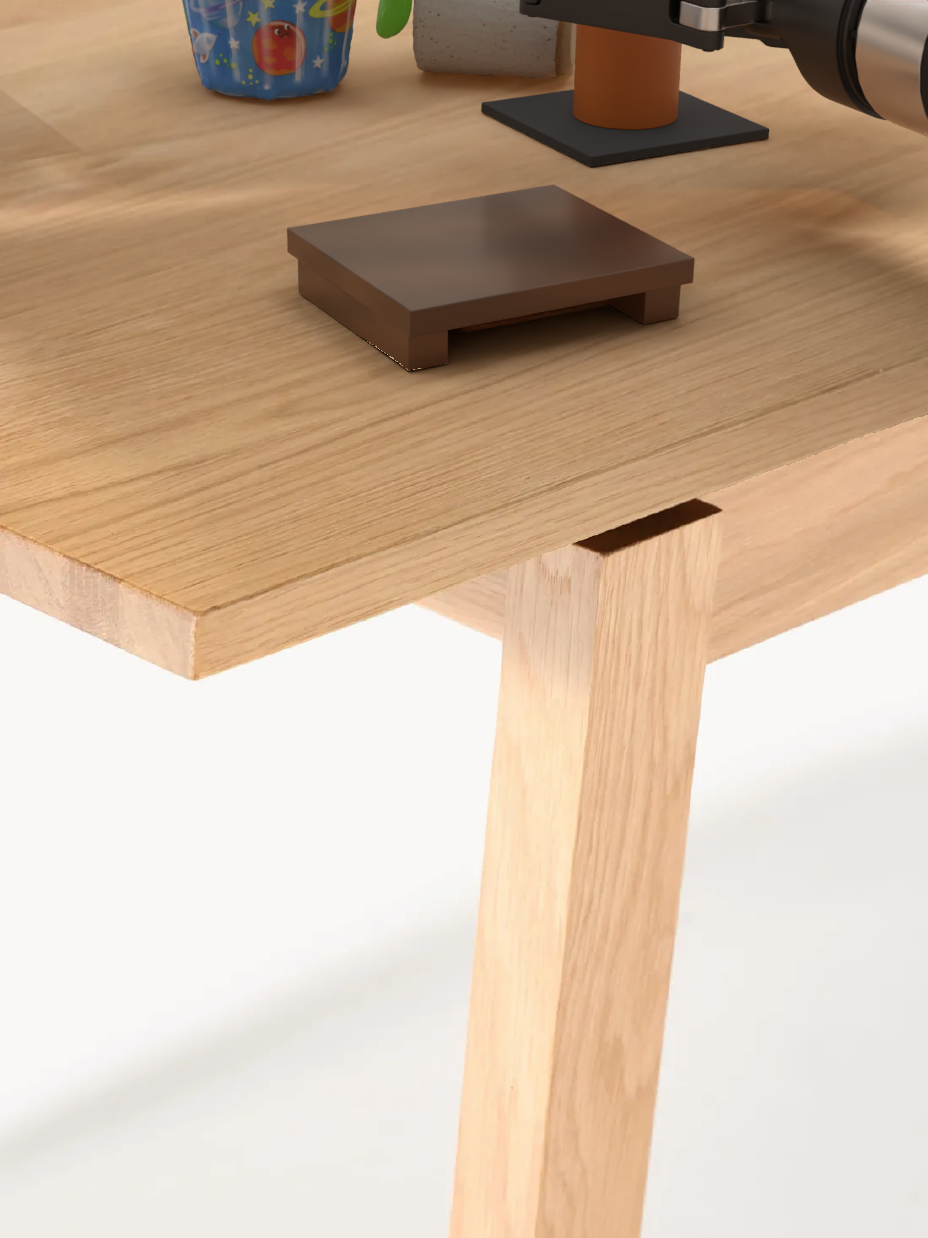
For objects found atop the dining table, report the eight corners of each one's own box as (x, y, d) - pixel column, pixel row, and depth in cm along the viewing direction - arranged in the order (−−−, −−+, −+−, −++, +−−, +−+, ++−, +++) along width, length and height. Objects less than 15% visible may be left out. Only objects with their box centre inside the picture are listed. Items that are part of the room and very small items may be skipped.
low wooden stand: (287, 289, 84) (286, 227, 83) (551, 242, 89) (553, 183, 88) (410, 378, 77) (410, 311, 75) (691, 321, 82) (695, 257, 81)
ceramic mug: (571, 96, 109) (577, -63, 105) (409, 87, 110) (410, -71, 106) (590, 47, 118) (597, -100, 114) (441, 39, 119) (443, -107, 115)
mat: (480, 112, 106) (481, 102, 106) (651, 87, 111) (651, 77, 110) (590, 167, 99) (591, 156, 98) (769, 138, 103) (770, 128, 103)
